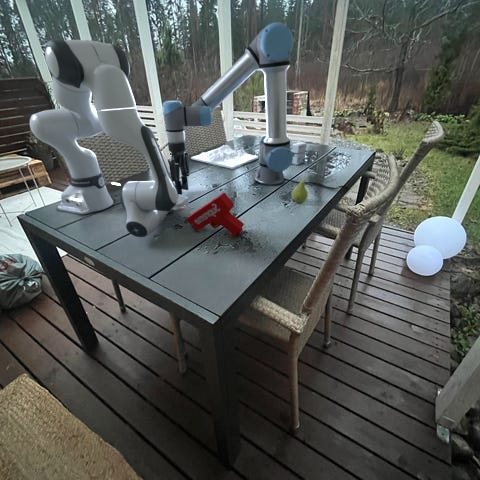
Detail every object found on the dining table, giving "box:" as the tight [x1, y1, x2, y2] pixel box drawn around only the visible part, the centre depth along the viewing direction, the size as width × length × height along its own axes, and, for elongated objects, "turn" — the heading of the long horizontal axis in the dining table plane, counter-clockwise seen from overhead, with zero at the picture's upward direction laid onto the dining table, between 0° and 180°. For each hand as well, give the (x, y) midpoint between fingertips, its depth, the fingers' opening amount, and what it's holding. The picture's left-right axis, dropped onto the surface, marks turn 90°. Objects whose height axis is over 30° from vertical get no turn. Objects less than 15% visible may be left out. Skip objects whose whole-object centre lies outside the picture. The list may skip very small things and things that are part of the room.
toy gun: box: [186, 192, 245, 238], centre depth 98 cm, size 18×4×15 cm
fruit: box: [291, 174, 311, 204], centre depth 118 cm, size 7×8×12 cm
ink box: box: [291, 141, 308, 166], centre depth 167 cm, size 8×5×12 cm, turn 135°
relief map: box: [190, 144, 259, 170], centre depth 177 cm, size 27×35×5 cm
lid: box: [180, 180, 189, 190], centre depth 127 cm, size 5×5×2 cm
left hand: (169, 194), depth 113 cm, fingers closed on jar, 4 cm apart
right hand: (182, 191), depth 129 cm, fingers closed on lid, 5 cm apart
